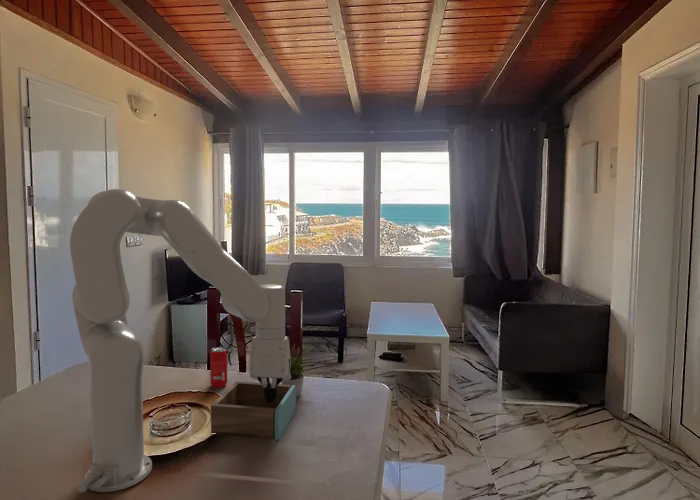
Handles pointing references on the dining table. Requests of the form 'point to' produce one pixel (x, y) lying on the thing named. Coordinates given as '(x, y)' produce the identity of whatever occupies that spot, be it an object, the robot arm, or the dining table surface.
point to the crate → (246, 411)
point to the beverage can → (218, 367)
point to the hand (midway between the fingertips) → (270, 400)
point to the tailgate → (285, 412)
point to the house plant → (296, 372)
